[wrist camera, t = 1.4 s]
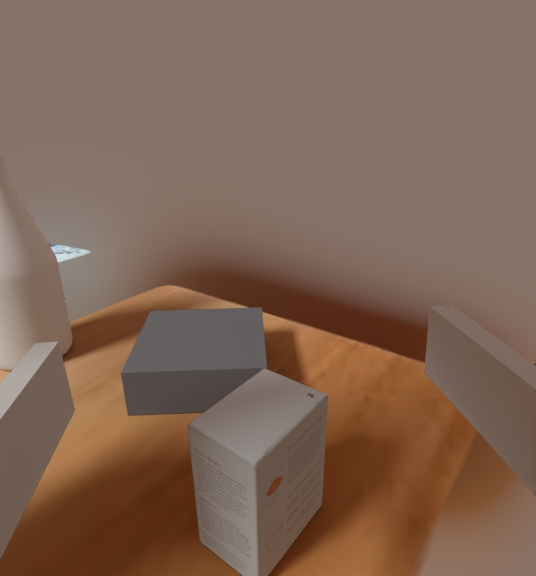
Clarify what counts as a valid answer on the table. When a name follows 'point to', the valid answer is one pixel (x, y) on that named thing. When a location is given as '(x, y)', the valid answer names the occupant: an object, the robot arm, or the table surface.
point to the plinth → (192, 359)
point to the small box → (258, 470)
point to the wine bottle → (27, 282)
